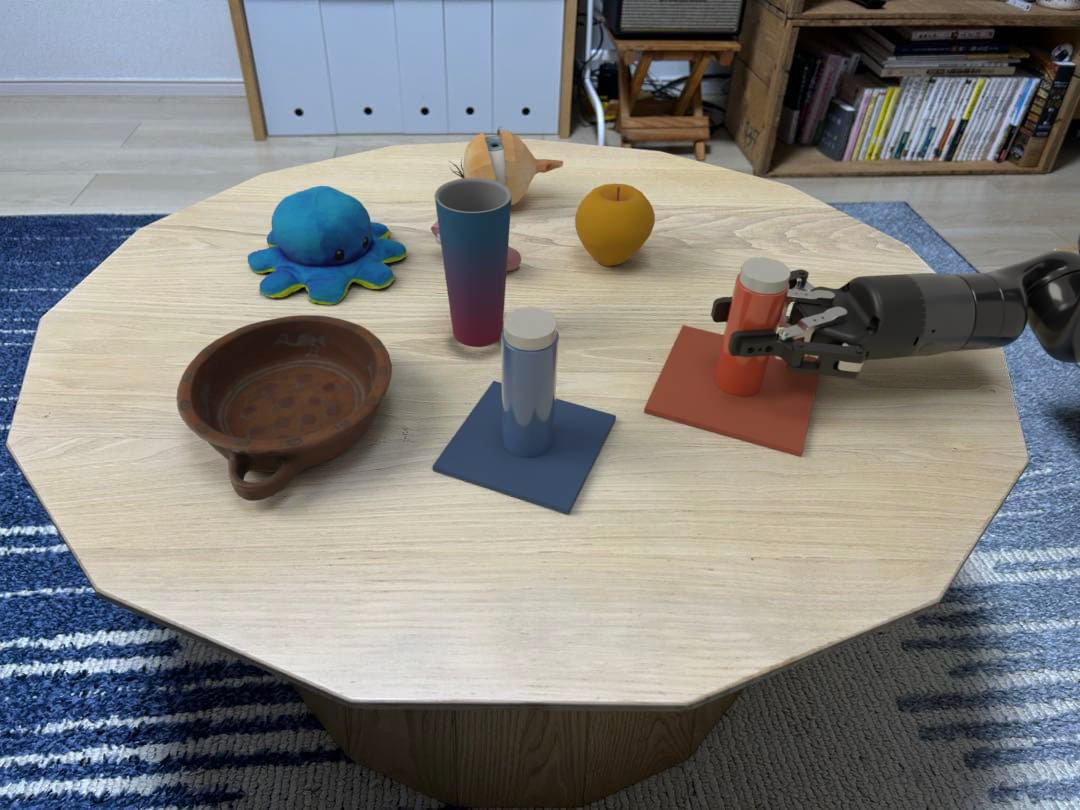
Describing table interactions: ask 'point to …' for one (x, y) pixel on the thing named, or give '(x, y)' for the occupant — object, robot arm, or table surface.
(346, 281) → the plush toy
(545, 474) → the blue mat
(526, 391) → the blue shaker
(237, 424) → the dish
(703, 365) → the terracotta mat
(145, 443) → the table surface
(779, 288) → the terracotta shaker
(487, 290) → the cup
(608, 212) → the apple
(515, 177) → the sculpture
